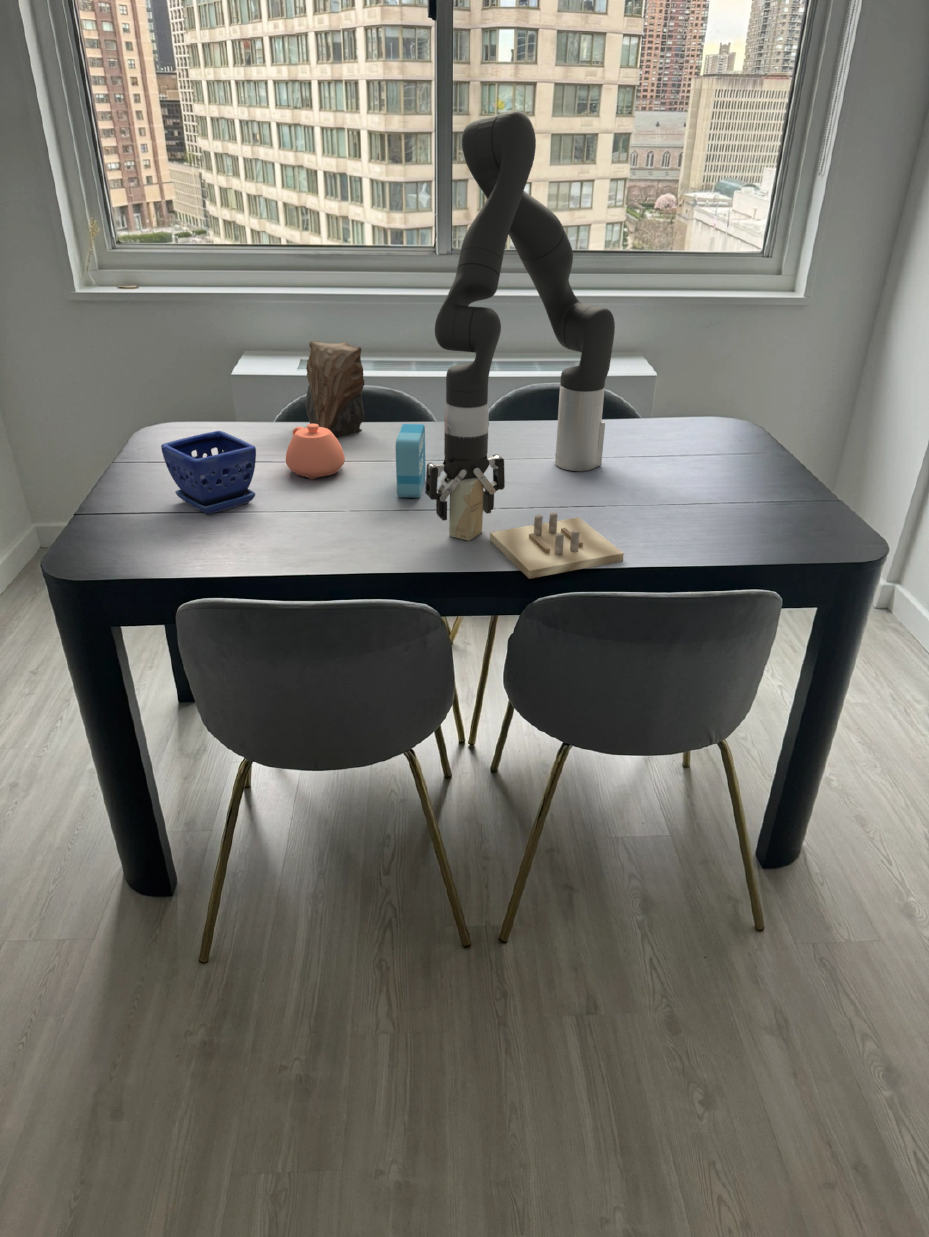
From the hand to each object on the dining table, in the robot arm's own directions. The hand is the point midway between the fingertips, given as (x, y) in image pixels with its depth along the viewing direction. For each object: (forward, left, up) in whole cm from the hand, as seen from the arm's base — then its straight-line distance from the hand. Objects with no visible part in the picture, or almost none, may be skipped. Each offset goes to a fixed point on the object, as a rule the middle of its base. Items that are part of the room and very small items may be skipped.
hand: (465, 515), depth 158 cm
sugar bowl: (+18, -41, -4) cm, 45 cm away
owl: (+8, -64, -4) cm, 65 cm away
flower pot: (+40, -31, -4) cm, 51 cm away
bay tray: (-12, +12, -4) cm, 18 cm away
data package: (+2, -24, -4) cm, 24 cm away
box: (0, 0, -4) cm, 4 cm away
